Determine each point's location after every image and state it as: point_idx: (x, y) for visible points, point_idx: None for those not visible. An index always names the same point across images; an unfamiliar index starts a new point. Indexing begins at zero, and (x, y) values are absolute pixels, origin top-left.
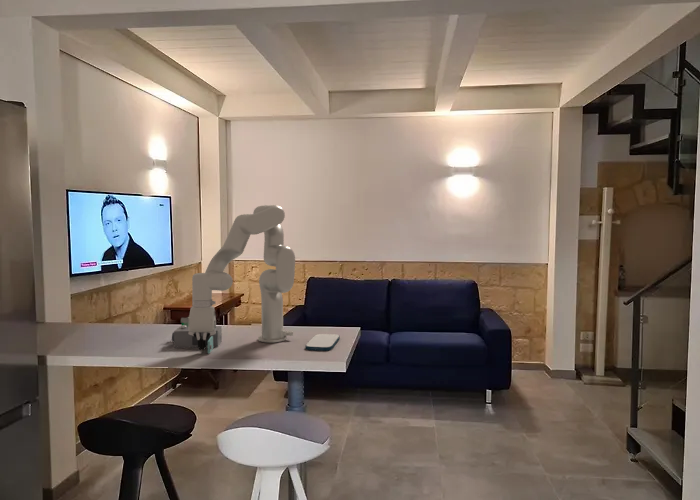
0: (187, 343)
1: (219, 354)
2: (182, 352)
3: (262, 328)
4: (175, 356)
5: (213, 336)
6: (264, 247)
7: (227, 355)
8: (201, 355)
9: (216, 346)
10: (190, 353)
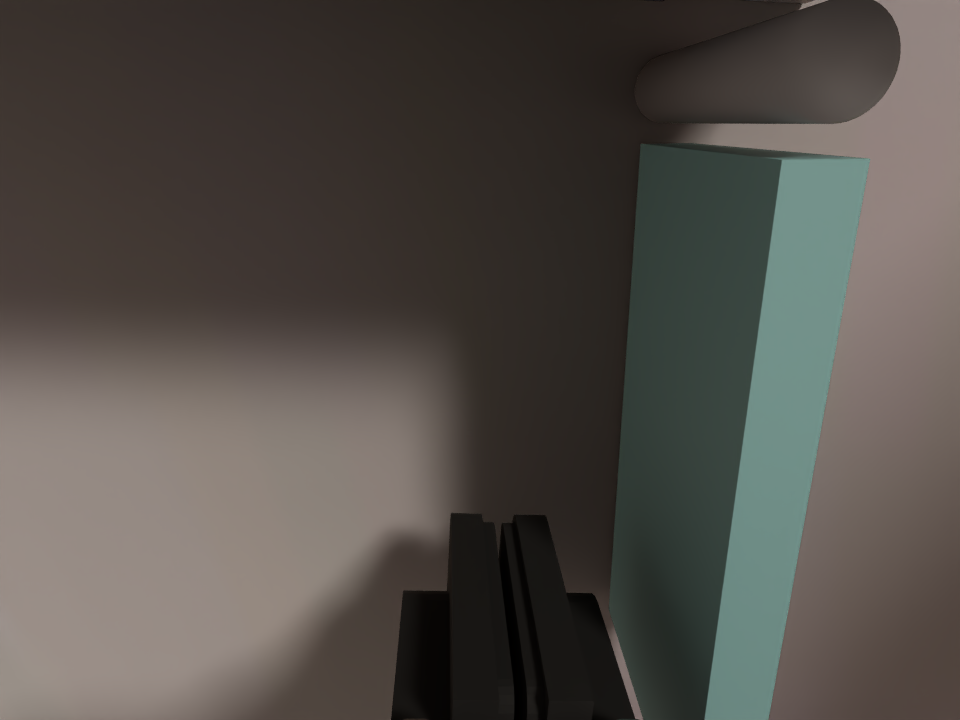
0: None
1: (819, 621)
2: (40, 434)
3: None
4: (31, 681)
5: (881, 64)
6: None
7: (951, 683)
8: None
9: (776, 1)
10: (247, 519)
